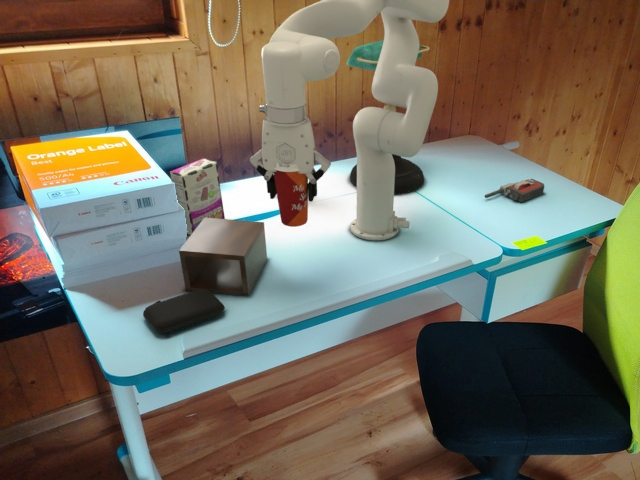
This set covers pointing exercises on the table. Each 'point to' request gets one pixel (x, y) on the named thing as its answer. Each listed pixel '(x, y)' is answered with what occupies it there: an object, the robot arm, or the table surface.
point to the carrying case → (183, 311)
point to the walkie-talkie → (520, 190)
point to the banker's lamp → (367, 58)
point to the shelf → (224, 256)
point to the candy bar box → (198, 192)
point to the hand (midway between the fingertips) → (292, 197)
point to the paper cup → (291, 194)
